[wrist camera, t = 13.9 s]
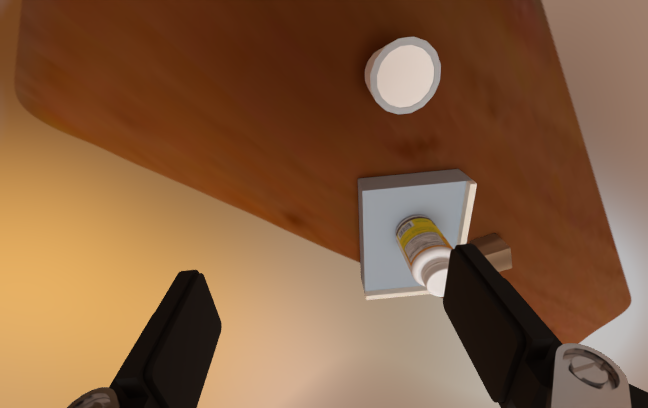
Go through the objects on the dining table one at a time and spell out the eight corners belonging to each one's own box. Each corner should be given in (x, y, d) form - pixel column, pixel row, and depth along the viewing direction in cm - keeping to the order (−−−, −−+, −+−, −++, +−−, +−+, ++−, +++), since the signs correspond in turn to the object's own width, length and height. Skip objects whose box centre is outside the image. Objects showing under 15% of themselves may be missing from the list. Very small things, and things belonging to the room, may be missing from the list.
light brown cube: (469, 240, 46) (482, 256, 42) (494, 232, 45) (510, 247, 42) (472, 259, 47) (485, 275, 44) (497, 251, 47) (512, 267, 43)
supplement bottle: (431, 246, 41) (466, 301, 32) (392, 248, 41) (416, 304, 32) (437, 212, 38) (476, 261, 29) (395, 214, 38) (422, 264, 29)
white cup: (366, 111, 36) (378, 123, 29) (352, 51, 32) (362, 51, 26) (421, 93, 35) (445, 102, 29) (412, 30, 32) (437, 25, 26)
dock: (357, 178, 40) (363, 194, 35) (458, 168, 40) (477, 183, 35) (361, 277, 48) (366, 300, 44) (444, 269, 48) (457, 291, 44)
